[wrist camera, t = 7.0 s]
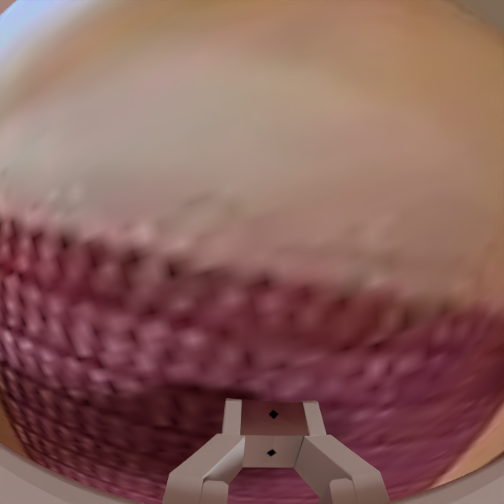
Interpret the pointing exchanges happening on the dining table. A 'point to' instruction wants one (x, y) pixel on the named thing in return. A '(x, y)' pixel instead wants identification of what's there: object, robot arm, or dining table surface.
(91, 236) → the dining table surface
